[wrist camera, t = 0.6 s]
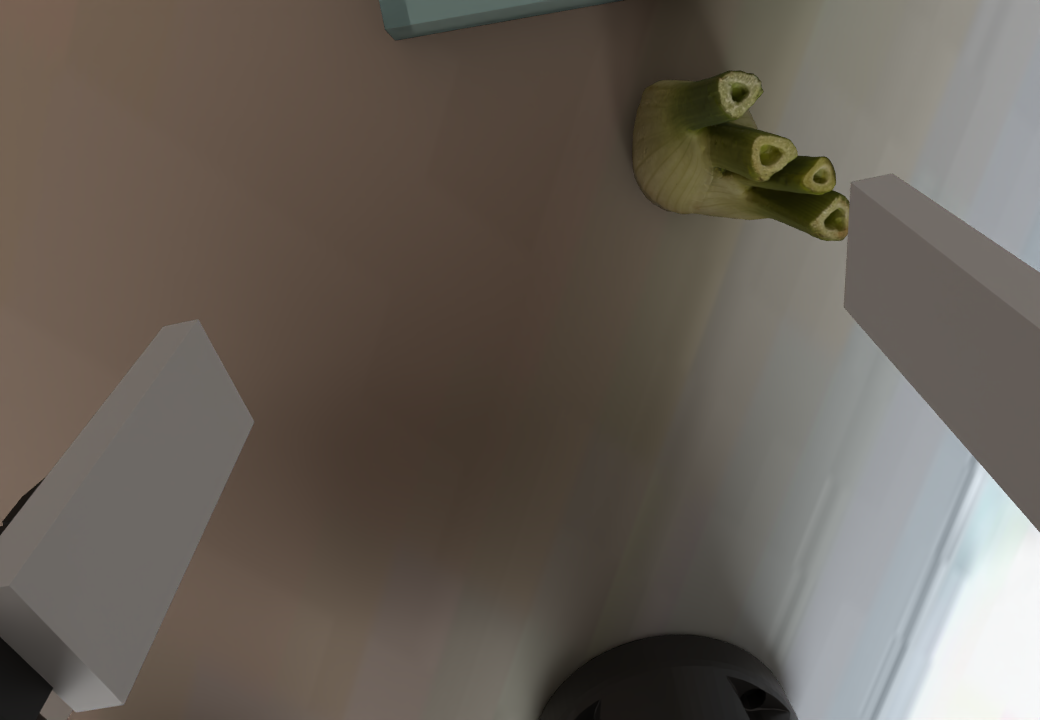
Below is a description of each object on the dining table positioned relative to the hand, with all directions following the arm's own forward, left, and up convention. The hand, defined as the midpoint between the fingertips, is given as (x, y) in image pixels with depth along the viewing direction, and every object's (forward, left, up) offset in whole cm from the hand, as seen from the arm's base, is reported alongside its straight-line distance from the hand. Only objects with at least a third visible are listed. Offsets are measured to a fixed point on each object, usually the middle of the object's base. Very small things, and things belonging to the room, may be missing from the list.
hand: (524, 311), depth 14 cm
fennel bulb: (+1, -8, -17) cm, 19 cm away
